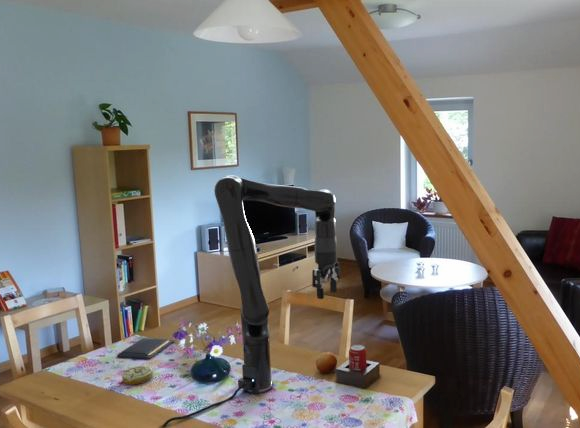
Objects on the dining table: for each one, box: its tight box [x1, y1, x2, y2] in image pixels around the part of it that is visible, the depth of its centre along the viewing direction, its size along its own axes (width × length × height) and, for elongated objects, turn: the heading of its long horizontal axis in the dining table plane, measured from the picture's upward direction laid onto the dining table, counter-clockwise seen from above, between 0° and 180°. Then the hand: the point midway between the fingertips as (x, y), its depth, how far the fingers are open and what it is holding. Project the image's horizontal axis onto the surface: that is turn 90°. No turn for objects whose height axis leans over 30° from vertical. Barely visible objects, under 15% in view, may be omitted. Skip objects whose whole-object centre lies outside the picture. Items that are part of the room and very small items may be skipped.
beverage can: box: [348, 344, 368, 371], centre depth 204 cm, size 6×6×12 cm
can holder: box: [335, 359, 381, 390], centre depth 205 cm, size 12×12×5 cm
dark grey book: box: [117, 337, 174, 360], centre depth 238 cm, size 20×2×15 cm
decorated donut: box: [121, 364, 154, 385], centre depth 208 cm, size 10×11×4 cm
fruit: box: [315, 351, 338, 374], centre depth 212 cm, size 8×8×8 cm
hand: (327, 295), depth 195 cm, fingers open, 8 cm apart
